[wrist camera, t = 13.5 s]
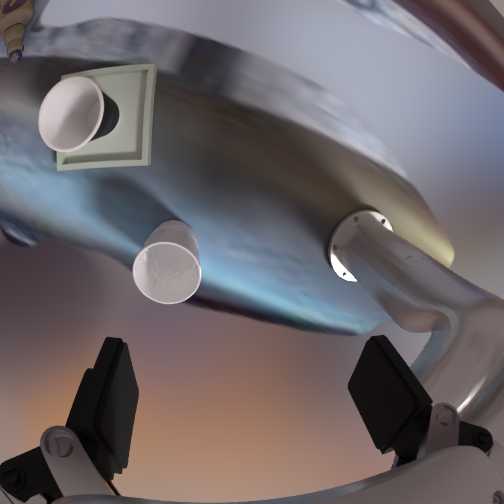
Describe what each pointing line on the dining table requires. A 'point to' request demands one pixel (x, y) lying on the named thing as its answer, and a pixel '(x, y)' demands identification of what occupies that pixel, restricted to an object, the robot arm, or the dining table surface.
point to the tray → (130, 121)
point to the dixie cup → (76, 114)
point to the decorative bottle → (15, 25)
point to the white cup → (168, 264)
